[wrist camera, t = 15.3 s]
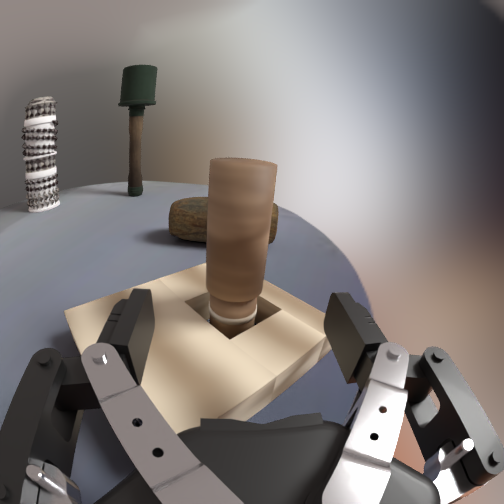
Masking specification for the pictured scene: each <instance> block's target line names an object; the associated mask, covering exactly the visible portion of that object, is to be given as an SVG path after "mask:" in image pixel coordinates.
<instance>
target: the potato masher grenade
mask: <svg viewBox="0 0 504 504" xmlns="http://www.w3.org/2000/svg"><path fill="white" fill-rule="evenodd" d="M156 77H157V67H155V66H151V65H133V66H129V67H126V68H124V70H123V77H122V86H121V99H120V103H119V104H118V105H119V106H126V107H127V106H129V109H128V110H130V112H129V134H130V149H129V163H130V164H129V167H130V168H129V169H130V170H129V176H128V193H129V195H130V196H139V195H141V194H142V192H143V185H142V175H141V134H142V130H143V115H144V109H145V106H149V105H155V104H156V101H154V100H155V99H154V98H155V87H156Z"/></svg>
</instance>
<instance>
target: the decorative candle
mask: <svg viewBox="0 0 504 504" xmlns="http://www.w3.org/2000/svg"><path fill="white" fill-rule="evenodd" d="M56 103H57V102H55V101H54V99H53V98H52V97H41V98H36V99H33V100H31V101H30V102H29V104H28V106H27V107H25V109H26V113H25V123H24V128H23V129H22V132H23V133H25V134H24V135H23V136H22V139H23V140H26V143H24V144H23V146H22V147H23V148H24V149H25V150H24V151H23V155H25V156H26V157H25V158H24V160H26V179H27V180H26V181H25V184H27V185H28V186H27V187H26V191H28V192H29V193H28V194H27V196H26V197H27V199H28V202H27V205H28V206H29V208H28V209H29V212H43V211H46V210H50V209H52V208H55V207H57V206H58V205H59V204H60V201H59V200H58V199H59V194H58V192H59V188H58V187H57V186H56V185H57V184H58V181H57V180H56V178H57V176H58V174H56V166H55V154H56V153H57V152H56V151H55V150H56V149H57V146H56V145H55V144H54V142H55V141H56V140H57V137H56V136H54V135H55V134H57V132H58V131H57V130H56V129H54V127H55V126H56V125H58V121H56V116H55V109H56V108H55V105H56Z"/></svg>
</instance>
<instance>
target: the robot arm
mask: <svg viewBox="0 0 504 504" xmlns="http://www.w3.org/2000/svg"><path fill="white" fill-rule="evenodd" d="M154 329H155V316H154V309H153V301H152V293H151V290H150V289H139V288H133V290H132V292H131V294H130V296H129V298H128V299H121V300H120V301H119V302H117V303H116V304H115V305H114V307H113V309H112V311H111V313H110V315H109V317H108V319H107V321H106V323H105V325H104V327H103V329H102V331H101V333H100V336H99V338H98V340H97V342H96V343H95V344H92V345H90V346H88V347H87V348H86V349H85V350H84V351H83V353H82V355H81V356H77V357H68V358H62V357H61V355H60V353H59V352H58V351H57V350H55V349H52V348H45V349H41V350H39V351H38V352H36V353H35V354H34V355H33V356H32V358H31V360H30V362H29V364H28V366H27V368H26V370H25V372H24V374H23V376H22V379H21V381H20V383H19V385H18V387H17V390H16V392H15V394H14V397H13V399H12V401H11V404H10V406H9V409H8V411H7V414H6V417H5V419H4V422H3V425H2V428H1V431H0V504H82V502H81V494H80V490H79V488H78V486H77V485H76V483H75V482H74V481H73V480H71V479H70V476H71V470H72V464H73V458H74V453H75V448H76V443H77V438H78V433H79V429H80V425H81V420H82V416H83V412H84V410H85V409H96V408H102V409H103V411H104V413H105V415H106V417H107V419H108V421H109V423H110V425H111V426H112V428H113V430H114V432H115V434H116V435H117V437H118V439H119V441H120V442H121V444H122V446H123V447H124V449H125V451H126V452H127V454H128V455H129V457H130V459H131V460H132V462H133V463H134V465H135V466H136V469H135V470H134V471H133V472H132V473H131V474H129V475H128V476H127V477H126V478H125V479H124V480H122V481H121V482H120V483H119V484H118V485H116V486H115V487H114V488H113V489H112V490H110V491H109V492H108V493H107V494H105V495H104V496H103V497H102V498H100V499H99V500H98V501H96V502H95V503H94V504H452V503H454V502H456V501H458V500H460V499H461V498H463V497H466V496H468V495H469V494H471V493H473V492H474V491H476V490H478V489H479V488H481V487H482V486H484V485H485V484H487V483H488V481H489V480H491V479H492V478H494V477H495V476H497V475H498V474H499V473H500V472H502V471H503V470H504V447H503V445H502V443H501V441H500V439H499V437H498V435H497V433H496V432H495V430H494V428H493V426H492V424H491V422H490V420H489V419H488V417H487V415H486V413H485V412H484V410H483V408H482V407H481V405H480V403H479V402H478V400H477V398H476V396H475V395H474V393H473V392H472V390H471V388H470V387H469V385H468V384H467V382H466V380H465V379H464V377H463V376H462V374H461V373H460V371H459V370H458V368H457V367H456V366H455V364H454V362H453V361H452V359H451V358H450V356H449V355H448V354H447V353H446V352H445V351H444V350H442V349H441V348H438V347H428V348H427V349H426V350H425V352H424V353H423V355H422V356H419V355H409V354H408V352H407V350H406V349H405V348H404V347H402V346H401V345H399V344H397V343H393V342H388V341H387V339H386V338H385V336H384V335H383V333H382V332H381V330H380V328H379V327H378V325H377V324H376V323H375V321H374V320H373V318H372V317H371V315H370V314H369V312H368V311H367V309H366V308H365V307H363V306H362V305H361V304H359V303H355V301H354V300H353V298H352V297H351V295H350V294H349V293H348V292H344V293H332V294H331V296H330V299H329V303H328V307H327V311H326V314H325V318H324V332H325V334H326V337H327V339H328V341H329V343H330V346H331V348H332V350H333V352H334V355H335V357H336V359H337V362H338V364H339V366H340V368H341V371H342V373H343V375H344V378H345V380H346V383H347V384H349V383H356V382H357V384H358V386H359V388H358V390H357V392H356V395H355V397H354V400H353V402H352V404H351V407H350V409H349V411H348V414H347V416H346V418H345V420H344V422H343V424H342V425H341V424H338V423H335V422H331V421H325V420H322V416H321V413H313V414H304V415H295V416H290V417H287V418H284V419H281V420H277V421H274V422H270V423H267V424H257V423H251V422H245V421H240V420H235V419H211V418H200V426H198V427H193V428H190V429H187V430H184V431H182V432H180V433H178V434H176V433H175V432H174V431H173V429H172V428H171V427H170V425H169V424H168V423H167V421H166V420H165V419H164V417H163V416H162V415H161V413H160V412H159V411H158V409H157V408H156V407H155V405H154V404H153V402H152V401H151V399H150V398H149V397H148V395H147V394H146V392H145V391H144V389H143V388H142V387H141V382H142V377H143V373H144V369H145V365H146V361H147V357H148V353H149V349H150V345H151V341H152V337H153V334H154ZM432 389H433V390H434V392H435V393H436V395H437V397H438V399H439V401H440V409H439V412H438V410H437V408H436V406H435V404H434V402H433V401H432V399H431V397H430V395H429V393H430V392H431V391H432ZM404 412H405V414H406V416H407V419H408V421H409V423H410V426H411V428H412V430H413V433H414V435H415V437H416V440H417V442H418V445H419V447H420V450H421V452H422V455H423V457H424V459H425V462H426V463H425V466H424V473H423V474H421V473H420V472H418V471H416V470H414V469H412V468H411V467H409V466H407V465H406V464H404V463H402V462H401V461H399V460H397V459H396V458H394V457H392V455H393V452H394V449H395V445H396V442H397V438H398V434H399V430H400V426H401V423H402V418H403V414H404Z"/></svg>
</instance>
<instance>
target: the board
mask: <svg viewBox="0 0 504 504" xmlns="http://www.w3.org/2000/svg"><path fill="white" fill-rule="evenodd" d="M133 288H139V289H150V290H151V293H152V301H153V309H154V316H155V329H154V334H153V337H152V341H151V345H150V349H149V353H148V357H147V361H146V365H145V369H144V373H143V377H142V382H141V387H142V388H143V389H144V391H145V392H146V394H147V395H148V397H149V398H150V399H151V401H152V402H153V404H154V405H155V407H156V408H157V409H158V411H159V412H160V413H161V415H162V416H163V417H164V419H165V420H166V421H167V423H168V424H169V425H170V427H171V428H172V429H173V431H174V432H175V433H176V434H178V433H180V432H182V431H184V430H187V429H190V428H193V427H198V426H200V418H211V419H235V420H240V421H247V420H248V419H249V418H251V417H252V416H253V415H255V414H256V413H257V412H259V411H260V410H261V409H263V408H264V407H265V406H266V405H268V404H269V403H270V402H271V401H273V400H274V399H275V398H276V397H278V396H279V395H280V394H281V393H283V392H284V391H285V390H286V389H287V388H289V387H290V386H291V385H292V384H293V383H295V382H296V381H297V380H298V379H299V378H300V377H302V376H303V375H304V374H305V373H306V372H307V371H308V370H310V369H311V368H312V367H313V366H314V365H315V364H316V363H317V362H318V361H320V360H321V359H322V358H323V357H324V356H325V355H326V354H327V353H328V352H329V351H330V350H331V349H332V348H331V346H330V343H329V341H328V339H327V337H326V334H325V332H324V318H325V313H323V312H321V311H319V310H317V309H316V308H314V307H312V306H310V305H308V304H307V303H305V302H303V301H301V300H299V299H298V298H296V297H294V296H292V295H291V294H289V293H287V292H285V291H283V290H282V289H280V288H278V287H276V286H275V285H273V284H271V283H269V282H268V281H266V280H264V281H263V289H262V292H261V294H260V295H259V296H258V297H257V313H256V316H255V321H254V322H255V323H257V325H255V326H253V327H252V328H250V329H248V330H246V331H245V332H243V333H241V334H239V335H237V336H236V337H234V338H232V339H230V340H229V339H228V338H227V337H226V336H224V335H223V334H222V333H221V332H219V331H218V330H217V329H216V328H215V327H213V326H212V325H211V324H210V323H209V322H207V321H206V320H208V319H210V313H209V301H210V293H209V292H208V290H207V288H206V263H204V264H201V265H198V266H195V267H192V268H189V269H186V270H183V271H180V272H177V273H174V274H171V275H168V276H165V277H162V278H159V279H156V280H153V281H150V282H147V283H144V284H141V285H138V286H135V287H132V288H129V289H127V290H124V291H121V292H118V293H115V294H112V295H109V296H106V297H103V298H100V299H97V300H94V301H91V302H88V303H85V304H82V305H80V306H77V307H74V308H71V309H68V310H65V311H64V313H65V316H66V319H67V322H68V325H69V328H70V331H71V333H72V336H73V339H74V341H75V343H76V346H77V348H78V350H79V353H80V355H82V353H83V351H84V350H85V349H86V348H87V347H88V346H90V345H92V344H95V343H96V342H97V340H98V338H99V336H100V333H101V331H102V329H103V327H104V325H105V323H106V321H107V319H108V317H109V315H110V313H111V311H112V309H113V307H114V305H115V304H116V303H117V302H119V301H120V300H121V299H128V298H129V296H130V294H131V292H132V290H133Z"/></svg>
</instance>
